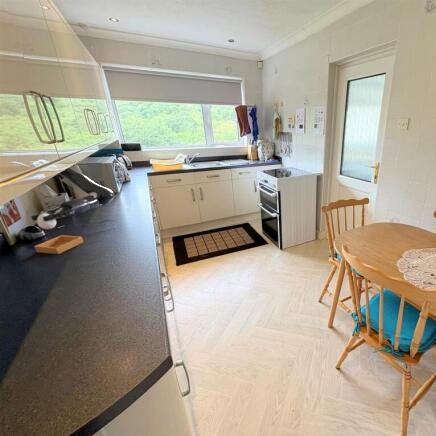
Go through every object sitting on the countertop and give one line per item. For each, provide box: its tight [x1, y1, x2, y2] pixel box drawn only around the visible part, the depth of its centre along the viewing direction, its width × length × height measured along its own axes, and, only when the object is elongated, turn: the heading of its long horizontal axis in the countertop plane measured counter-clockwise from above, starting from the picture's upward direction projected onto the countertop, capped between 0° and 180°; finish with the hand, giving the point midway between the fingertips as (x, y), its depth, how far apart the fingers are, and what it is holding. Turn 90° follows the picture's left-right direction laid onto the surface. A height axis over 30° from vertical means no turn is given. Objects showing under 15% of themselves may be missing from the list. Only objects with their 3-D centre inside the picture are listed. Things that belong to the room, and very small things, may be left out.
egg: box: [36, 213, 57, 230], centre depth 107 cm, size 6×6×8 cm
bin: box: [34, 234, 84, 255], centre depth 114 cm, size 12×12×4 cm
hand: (38, 218), depth 104 cm, fingers closed on egg, 5 cm apart
